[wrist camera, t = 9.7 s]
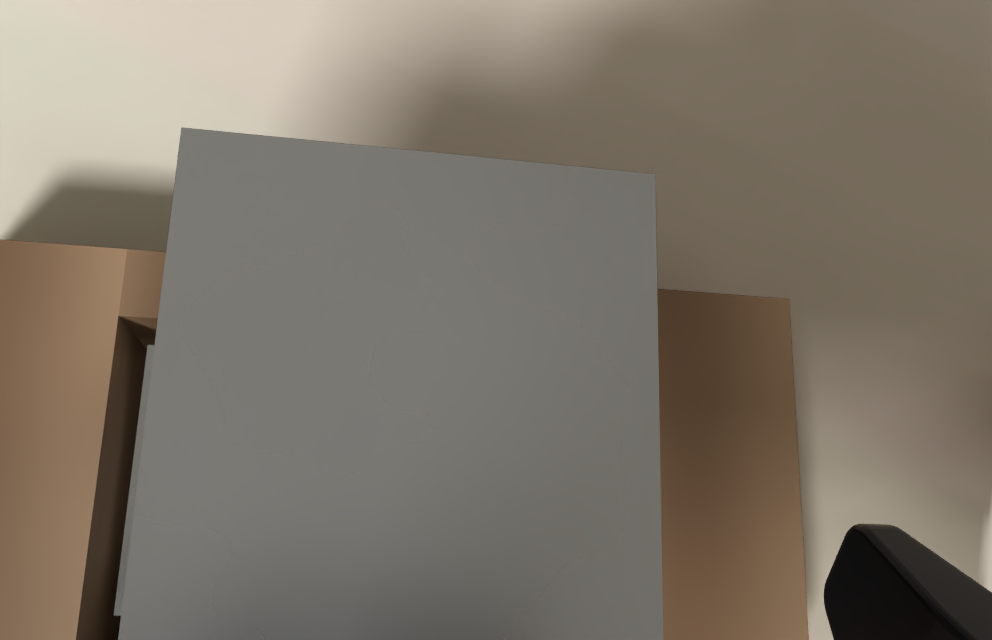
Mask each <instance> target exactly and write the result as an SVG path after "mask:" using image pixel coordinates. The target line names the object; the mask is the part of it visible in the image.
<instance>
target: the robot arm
mask: <svg viewBox="0 0 992 640" xmlns="http://www.w3.org/2000/svg"><path fill="white" fill-rule="evenodd" d="M824 604H825V610H826V613H827V617H828V620H829V624H830V628H831V631H832V635H833V638H834V640H992V592H990V591H989V590H987V589H986V588H984V587H983V586H981V585H980V584H979V583H977V582H976V581H974V580H973V579H971V578H970V577H969V576H967V575H966V574H964V573H963V572H961V571H960V570H958V569H957V568H956V567H954V566H953V565H951V564H950V563H948V562H947V561H946V560H944V559H943V558H941V557H940V556H938V555H937V554H935V553H934V552H933V551H931V550H930V549H928V548H927V547H925V546H924V545H923V544H921V543H920V542H918V541H917V540H915V539H914V538H912V537H911V536H910V535H908V534H907V533H905V532H904V531H902V530H901V529H899V528H898V527H895V526H892V525H882V524H857V525H854V526H853V527H851V528H850V529H849V530H848V532H847V533H846V535H845V538H844V540H843V542H842V545H841V547H840V549H839V552H838V554H837V556H836V559H835V561H834V564H833V566H832V568H831V571H830V573H829V575H828V578H827V580H826V583H825V588H824Z"/></svg>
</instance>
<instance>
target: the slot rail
mask: <svg viewBox="0 0 992 640" xmlns="http://www.w3.org/2000/svg"><path fill="white" fill-rule="evenodd" d="M165 257H166V252H159V251H146V250H132V249H119V248H106V247H93V246H79V245H66V244H53V243H39V242H26V241H13V240H0V640H115V639H116V631H117V622H118V616H115V615H114V608H115V600H116V592H117V584H118V576H119V569H120V561H121V553H122V545H123V537H124V529H125V521H126V513H127V505H128V497H129V489H130V481H131V473H132V465H133V457H134V449H135V441H136V433H137V426H138V418H139V410H140V402H141V394H142V386H143V378H144V370H145V362H146V354H147V346H148V345H155V337H156V329H157V321H158V313H159V305H160V297H161V289H162V281H163V273H164V265H165ZM657 302H658V360H659V419H660V477H661V536H662V595H663V640H809V635H808V618H807V600H806V583H805V565H804V548H803V531H802V513H801V496H800V478H799V461H798V444H797V426H796V409H795V392H794V374H793V357H792V339H791V322H790V305H789V299H784V298H771V297H758V296H744V295H731V294H718V293H704V292H691V291H678V290H665V289H657Z"/></svg>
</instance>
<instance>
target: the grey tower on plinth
mask: <svg viewBox="0 0 992 640" xmlns="http://www.w3.org/2000/svg"><path fill="white" fill-rule="evenodd" d="M114 615H115V616H121V620H120V628H119V636H118V640H663V595H662V536H661V477H660V419H659V360H658V302H657V243H656V184H655V174H649V173H639V172H629V171H619V170H608V169H598V168H588V167H578V166H568V165H558V164H547V163H537V162H527V161H517V160H507V159H497V158H486V157H476V156H466V155H456V154H446V153H436V152H425V151H415V150H405V149H395V148H385V147H375V146H364V145H354V144H344V143H334V142H324V141H314V140H303V139H293V138H283V137H273V136H263V135H253V134H242V133H232V132H222V131H212V130H202V129H192V128H181V136H180V144H179V152H178V160H177V168H176V176H175V184H174V192H173V200H172V208H171V216H170V224H169V233H168V241H167V249H166V257H165V265H164V273H163V281H162V289H161V297H160V305H159V313H158V321H157V329H156V337H155V345H148V346H147V354H146V362H145V370H144V378H143V386H142V394H141V402H140V410H139V418H138V426H137V433H136V441H135V449H134V457H133V465H132V473H131V481H130V489H129V497H128V505H127V513H126V521H125V529H124V537H123V545H122V553H121V561H120V569H119V576H118V584H117V592H116V600H115V608H114Z"/></svg>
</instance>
